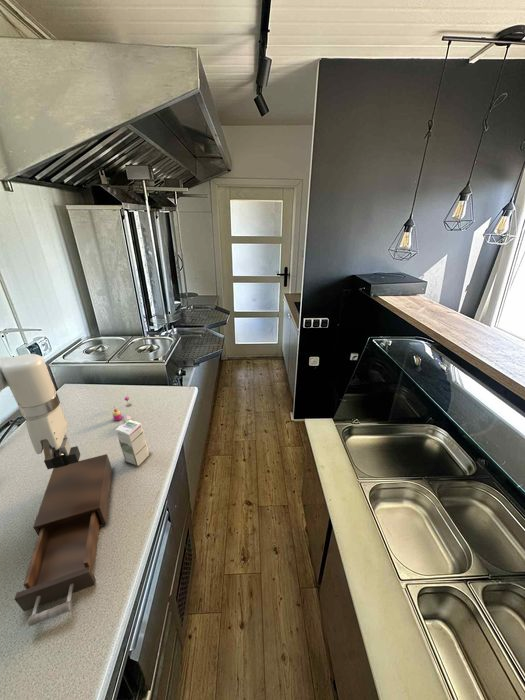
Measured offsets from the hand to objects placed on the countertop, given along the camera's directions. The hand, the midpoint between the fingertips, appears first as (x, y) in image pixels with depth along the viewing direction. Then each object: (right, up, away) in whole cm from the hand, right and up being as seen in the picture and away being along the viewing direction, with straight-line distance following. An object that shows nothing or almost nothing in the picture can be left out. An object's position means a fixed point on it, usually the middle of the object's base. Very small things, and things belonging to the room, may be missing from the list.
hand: (63, 460), depth 76 cm
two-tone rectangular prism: (0, -1, 0) cm, 1 cm away
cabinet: (0, -15, +7) cm, 17 cm away
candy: (-4, +1, +42) cm, 42 cm away
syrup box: (+10, -8, +22) cm, 26 cm away
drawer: (+7, -22, -8) cm, 24 cm away
